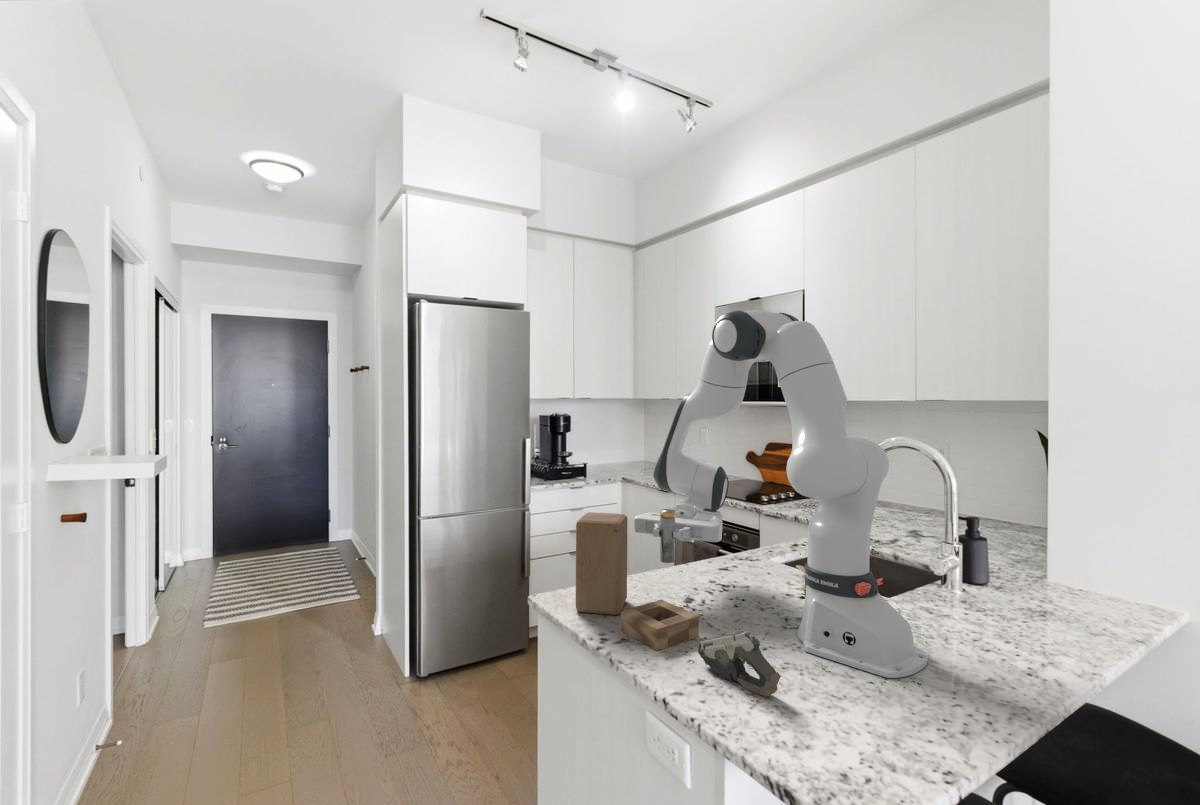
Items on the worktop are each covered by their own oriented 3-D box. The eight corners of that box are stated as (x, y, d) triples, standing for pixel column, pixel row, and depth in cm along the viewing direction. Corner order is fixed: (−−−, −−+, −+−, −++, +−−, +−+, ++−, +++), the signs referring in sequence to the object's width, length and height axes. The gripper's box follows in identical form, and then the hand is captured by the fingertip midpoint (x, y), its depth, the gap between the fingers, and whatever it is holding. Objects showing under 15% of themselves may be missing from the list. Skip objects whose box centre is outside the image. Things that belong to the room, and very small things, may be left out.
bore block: (698, 636, 113) (698, 616, 113) (657, 650, 106) (657, 629, 106) (661, 618, 122) (661, 599, 121) (621, 630, 115) (621, 610, 115)
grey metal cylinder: (678, 561, 126) (678, 510, 125) (667, 564, 124) (668, 512, 123) (666, 557, 128) (667, 508, 128) (656, 560, 126) (657, 510, 126)
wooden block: (620, 617, 122) (620, 523, 122) (574, 613, 124) (574, 520, 124) (627, 600, 132) (628, 513, 131) (584, 596, 134) (585, 511, 133)
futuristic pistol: (719, 697, 100) (700, 637, 103) (786, 690, 90) (763, 624, 93) (709, 701, 99) (690, 640, 102) (777, 696, 88) (753, 628, 91)
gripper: (645, 504, 142) (622, 514, 129) (728, 512, 133) (711, 524, 120) (645, 529, 142) (622, 542, 130) (728, 539, 133) (711, 554, 120)
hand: (666, 534), depth 125 cm, fingers closed on grey metal cylinder, 3 cm apart
